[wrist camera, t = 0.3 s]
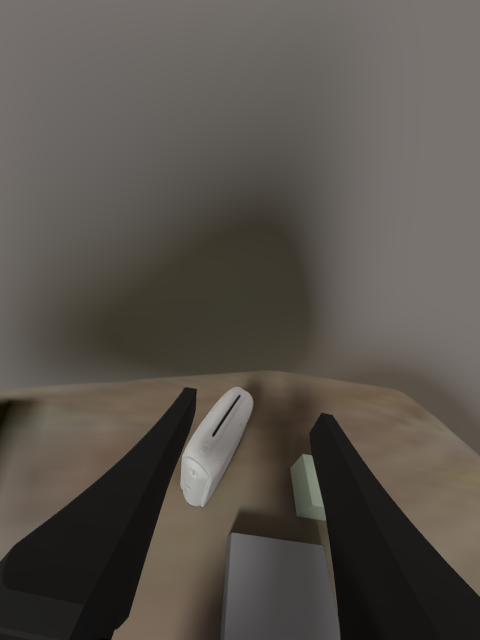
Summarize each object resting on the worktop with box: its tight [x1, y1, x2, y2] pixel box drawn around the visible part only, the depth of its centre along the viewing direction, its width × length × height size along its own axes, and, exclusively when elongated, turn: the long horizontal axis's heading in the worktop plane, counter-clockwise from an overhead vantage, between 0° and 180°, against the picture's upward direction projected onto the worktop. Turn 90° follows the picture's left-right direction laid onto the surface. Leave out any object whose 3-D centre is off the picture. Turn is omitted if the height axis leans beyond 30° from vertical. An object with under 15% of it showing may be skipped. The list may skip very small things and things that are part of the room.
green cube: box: [290, 454, 326, 521], centre depth 24 cm, size 5×5×5 cm
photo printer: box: [180, 387, 253, 507], centre depth 23 cm, size 10×4×12 cm, turn 151°
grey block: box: [220, 533, 341, 640], centre depth 16 cm, size 10×10×3 cm
